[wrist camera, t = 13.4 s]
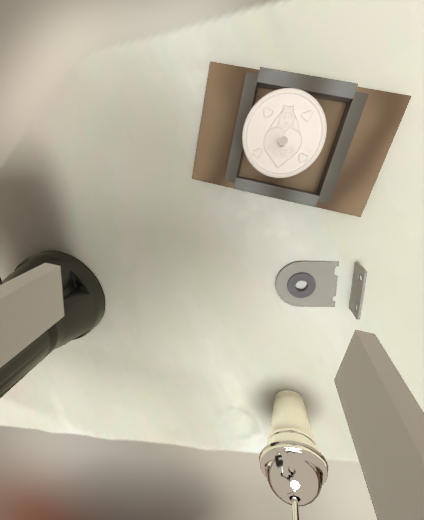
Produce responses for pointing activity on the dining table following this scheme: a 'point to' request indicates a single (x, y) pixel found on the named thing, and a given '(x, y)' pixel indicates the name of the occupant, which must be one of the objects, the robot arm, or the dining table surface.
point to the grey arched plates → (318, 285)
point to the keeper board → (332, 154)
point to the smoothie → (284, 132)
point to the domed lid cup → (292, 454)
